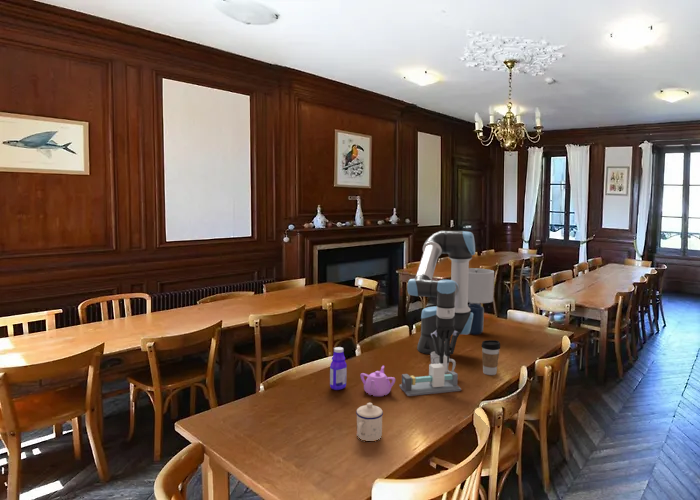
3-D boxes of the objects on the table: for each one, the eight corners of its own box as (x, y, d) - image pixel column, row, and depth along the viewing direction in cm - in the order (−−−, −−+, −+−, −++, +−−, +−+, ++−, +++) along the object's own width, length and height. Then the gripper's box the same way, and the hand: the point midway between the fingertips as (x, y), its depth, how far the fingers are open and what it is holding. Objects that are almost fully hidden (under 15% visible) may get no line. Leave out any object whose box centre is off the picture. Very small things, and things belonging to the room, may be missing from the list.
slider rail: (399, 386, 206) (399, 372, 205) (450, 381, 212) (450, 367, 211) (407, 396, 196) (408, 380, 196) (461, 390, 202) (461, 376, 202)
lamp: (495, 337, 279) (498, 272, 275) (460, 337, 280) (463, 271, 275) (486, 328, 299) (488, 267, 295) (453, 328, 300) (455, 266, 295)
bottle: (339, 383, 209) (340, 345, 207) (348, 387, 205) (349, 348, 203) (327, 388, 204) (327, 348, 202) (336, 392, 200) (336, 351, 198)
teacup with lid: (364, 427, 170) (364, 395, 168) (387, 434, 165) (387, 401, 164) (346, 441, 159) (346, 408, 158) (370, 449, 155) (370, 415, 153)
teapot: (383, 384, 209) (383, 364, 208) (397, 396, 196) (398, 375, 195) (358, 387, 205) (358, 367, 204) (371, 400, 192) (371, 379, 191)
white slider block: (428, 382, 207) (429, 364, 206) (439, 381, 208) (439, 363, 207) (433, 387, 202) (433, 368, 201) (444, 386, 203) (444, 367, 202)
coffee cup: (500, 376, 218) (501, 345, 217) (481, 375, 220) (482, 343, 219) (498, 370, 227) (499, 339, 225) (479, 369, 228) (481, 338, 227)
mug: (457, 374, 221) (457, 353, 220) (452, 380, 213) (453, 359, 212) (432, 370, 226) (433, 350, 225) (428, 376, 218) (428, 355, 217)
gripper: (435, 319, 197) (433, 374, 200) (463, 317, 200) (461, 372, 203) (427, 315, 204) (426, 368, 207) (455, 313, 207) (453, 366, 210)
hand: (443, 370), depth 205 cm, fingers closed
